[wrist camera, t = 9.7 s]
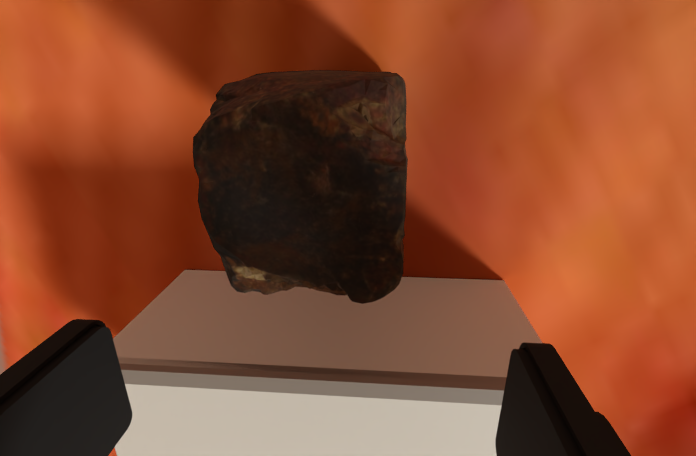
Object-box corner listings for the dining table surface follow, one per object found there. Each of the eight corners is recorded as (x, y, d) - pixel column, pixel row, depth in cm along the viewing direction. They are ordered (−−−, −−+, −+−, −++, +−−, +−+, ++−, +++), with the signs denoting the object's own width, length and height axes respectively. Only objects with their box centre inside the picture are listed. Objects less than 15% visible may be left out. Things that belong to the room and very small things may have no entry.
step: (503, 280, 19) (574, 394, 12) (484, 407, 22) (531, 558, 15) (184, 269, 20) (82, 367, 13) (205, 391, 23) (131, 523, 16)
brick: (306, 183, 18) (300, 74, 16) (392, 184, 17) (395, 72, 16) (208, 313, 8) (167, 64, 6) (405, 320, 8) (416, 59, 6)
